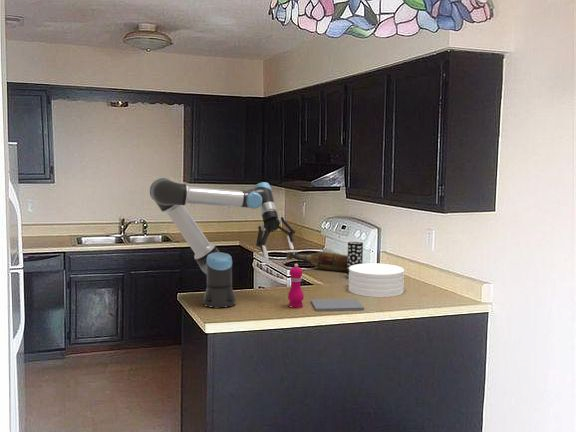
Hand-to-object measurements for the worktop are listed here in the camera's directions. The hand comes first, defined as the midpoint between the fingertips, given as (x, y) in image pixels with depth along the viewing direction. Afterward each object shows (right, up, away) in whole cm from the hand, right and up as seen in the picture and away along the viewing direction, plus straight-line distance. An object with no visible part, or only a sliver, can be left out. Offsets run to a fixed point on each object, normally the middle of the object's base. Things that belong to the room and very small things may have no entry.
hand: (279, 253), depth 288 cm
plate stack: (+49, -21, +26) cm, 59 cm away
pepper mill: (+8, -24, -7) cm, 26 cm away
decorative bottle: (+23, -14, +78) cm, 82 cm away
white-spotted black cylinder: (+41, -17, +53) cm, 69 cm away
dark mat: (+27, -24, -6) cm, 36 cm away
